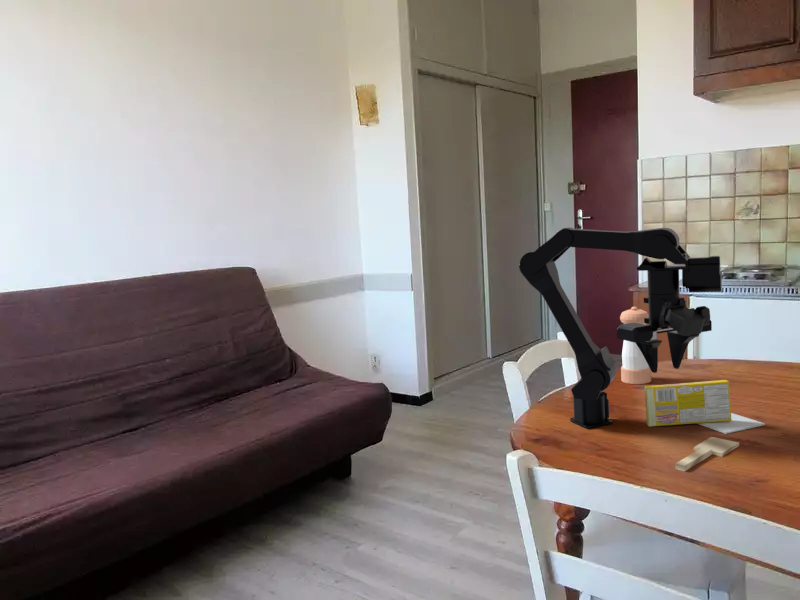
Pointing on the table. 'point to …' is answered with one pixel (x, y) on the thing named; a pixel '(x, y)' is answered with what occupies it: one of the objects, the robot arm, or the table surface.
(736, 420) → the felt mat
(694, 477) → the table surface
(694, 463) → the wooden turner
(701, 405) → the candy box
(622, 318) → the pepper shaker
